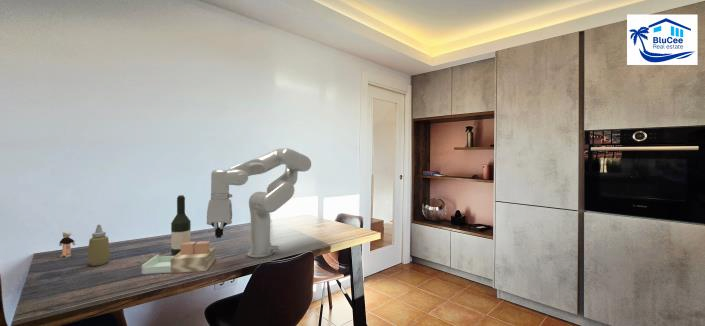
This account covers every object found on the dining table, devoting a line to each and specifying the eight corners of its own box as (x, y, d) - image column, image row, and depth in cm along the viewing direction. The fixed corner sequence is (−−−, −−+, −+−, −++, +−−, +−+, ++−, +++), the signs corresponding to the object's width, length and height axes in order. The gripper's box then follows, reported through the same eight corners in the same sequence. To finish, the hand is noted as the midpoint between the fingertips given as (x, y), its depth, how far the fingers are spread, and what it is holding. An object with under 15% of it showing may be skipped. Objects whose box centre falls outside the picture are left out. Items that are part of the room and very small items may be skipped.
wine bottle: (181, 258, 141) (181, 196, 141) (167, 257, 142) (167, 196, 142) (194, 253, 149) (194, 194, 149) (180, 252, 151) (180, 194, 150)
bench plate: (215, 259, 139) (215, 247, 139) (206, 270, 125) (206, 256, 125) (183, 261, 136) (183, 248, 136) (170, 273, 122) (170, 258, 122)
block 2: (210, 250, 134) (210, 240, 134) (207, 253, 130) (207, 243, 130) (198, 251, 133) (198, 241, 133) (195, 254, 129) (195, 243, 129)
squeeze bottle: (114, 262, 136) (114, 223, 135) (94, 268, 128) (94, 227, 128) (103, 260, 138) (103, 222, 138) (82, 265, 131) (82, 226, 130)
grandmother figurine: (54, 258, 141) (54, 232, 141) (60, 255, 145) (60, 230, 145) (73, 257, 143) (72, 231, 143) (78, 254, 146) (78, 229, 146)
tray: (183, 261, 136) (183, 253, 136) (170, 273, 122) (170, 263, 122) (157, 263, 134) (157, 254, 134) (141, 274, 120) (141, 265, 120)
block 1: (196, 251, 133) (196, 241, 132) (192, 254, 129) (192, 244, 129) (184, 252, 132) (184, 242, 132) (180, 254, 128) (180, 244, 128)
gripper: (238, 196, 137) (238, 234, 137) (205, 196, 135) (204, 235, 134) (235, 197, 130) (234, 238, 130) (199, 197, 127) (198, 239, 127)
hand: (219, 237), depth 132 cm, fingers closed
